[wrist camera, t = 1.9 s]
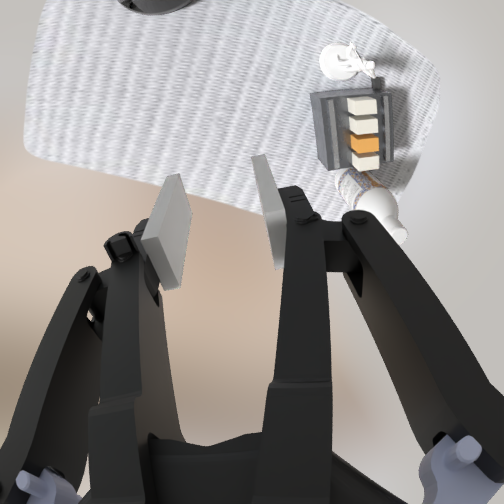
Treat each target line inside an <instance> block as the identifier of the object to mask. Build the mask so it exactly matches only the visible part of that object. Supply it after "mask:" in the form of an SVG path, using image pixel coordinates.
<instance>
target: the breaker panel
mask: <svg viewBox="0 0 504 504" xmlns="http://www.w3.org/2000/svg"><path fill="white" fill-rule="evenodd" d="M366 96H368V97H371V98H374V99H376V103H377V114H367V115H371V116H373V117H375V118H377V119H378V133H372V134H374V135H375V136H377V137H378V138H379V151H374V152H375V153H376V154H377V155H379V163H385V162H393V161H394V148H393V113H392V96H391V93H390V92H387V91H384V90H381V89H374V88H362V89H348V90H336V91H326V92H317V93H310V98H311V105H312V112H313V119H314V127H315V135H316V143H317V152H318V159H319V160H320V161H321V163H322V164H323V165H324V166H325V168H326V169H327V170H328V171H330V170H336V169H343V168H349V167H354V166H353V165H352V152H356V151H355V150H354V149H353V148H351V134H355V133H354V132H353V131H351V130H350V123H349V116H359V115H354V114H352V113H350V112H348V102H347V98H352V97H366Z"/></svg>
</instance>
